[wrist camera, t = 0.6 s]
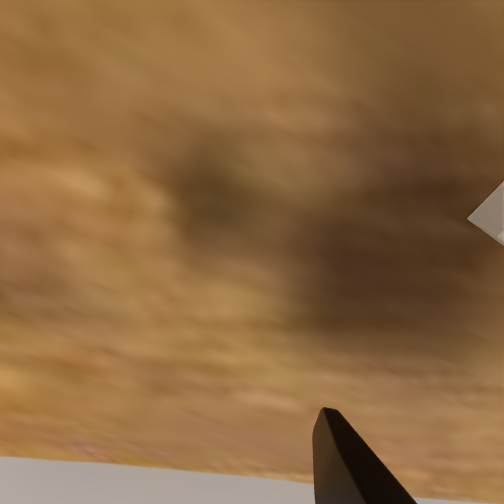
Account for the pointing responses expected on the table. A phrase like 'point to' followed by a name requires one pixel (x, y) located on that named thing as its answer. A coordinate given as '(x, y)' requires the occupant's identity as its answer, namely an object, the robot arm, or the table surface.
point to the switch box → (491, 215)
